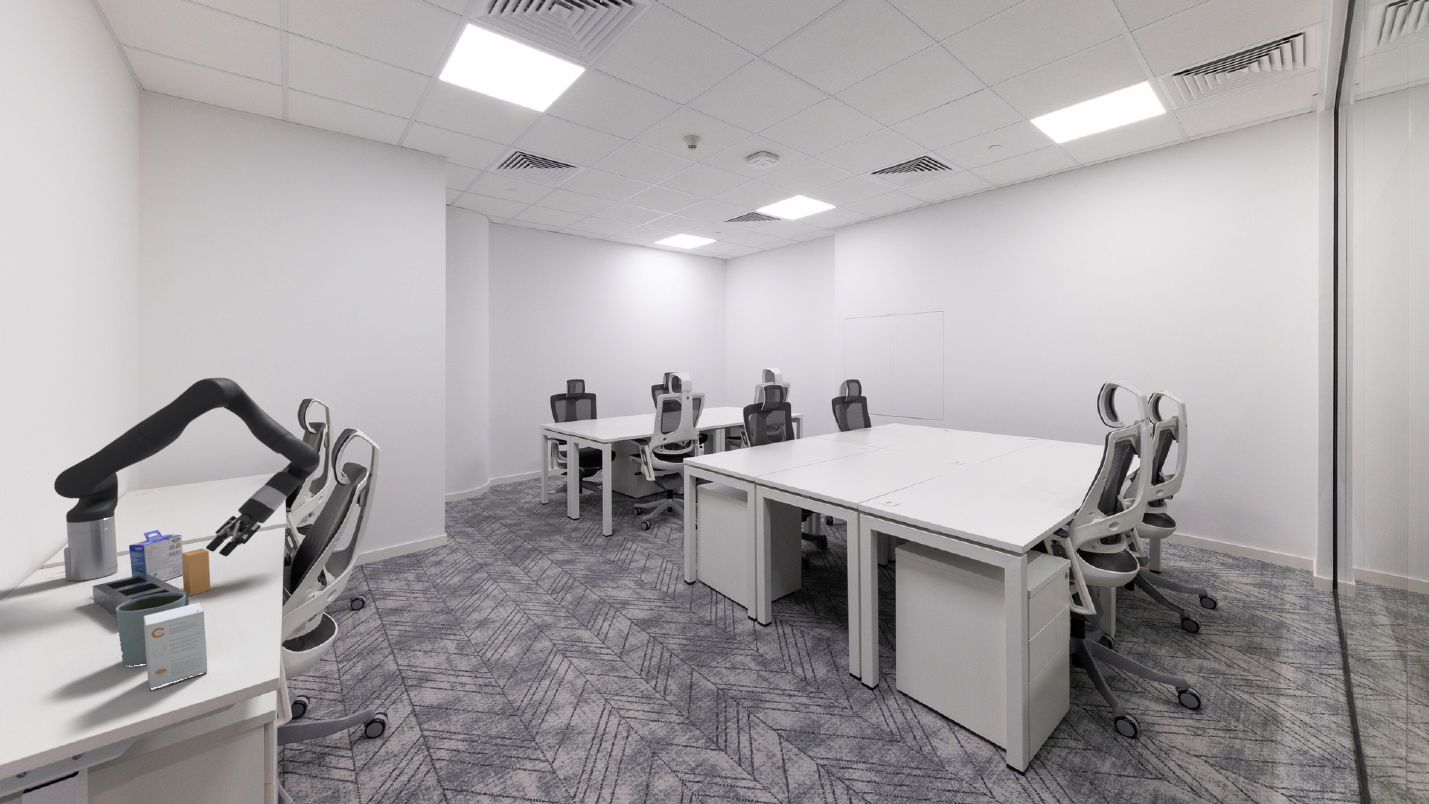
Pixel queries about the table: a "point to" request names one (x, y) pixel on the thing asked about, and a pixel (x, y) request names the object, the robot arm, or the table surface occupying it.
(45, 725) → the table surface
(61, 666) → the table surface
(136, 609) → the grey-green hollow cylinder
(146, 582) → the gray slotted block
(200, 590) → the square peg
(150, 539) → the ink cartridge box
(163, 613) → the small box
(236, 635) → the table surface
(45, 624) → the table surface
